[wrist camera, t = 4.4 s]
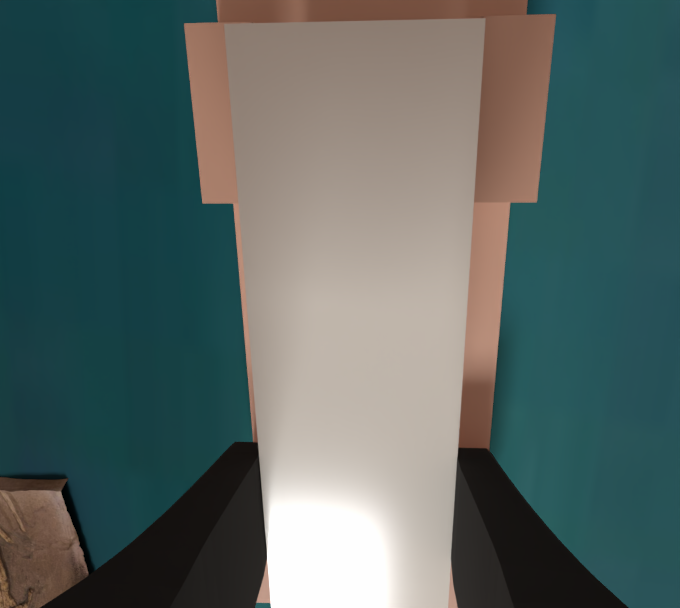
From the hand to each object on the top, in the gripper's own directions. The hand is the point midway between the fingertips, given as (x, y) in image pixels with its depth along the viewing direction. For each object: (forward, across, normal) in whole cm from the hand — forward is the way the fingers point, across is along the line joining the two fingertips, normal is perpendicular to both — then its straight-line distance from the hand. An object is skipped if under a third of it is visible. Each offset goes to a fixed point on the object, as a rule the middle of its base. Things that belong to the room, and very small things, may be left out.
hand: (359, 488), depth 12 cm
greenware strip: (+5, 0, 0) cm, 5 cm away
